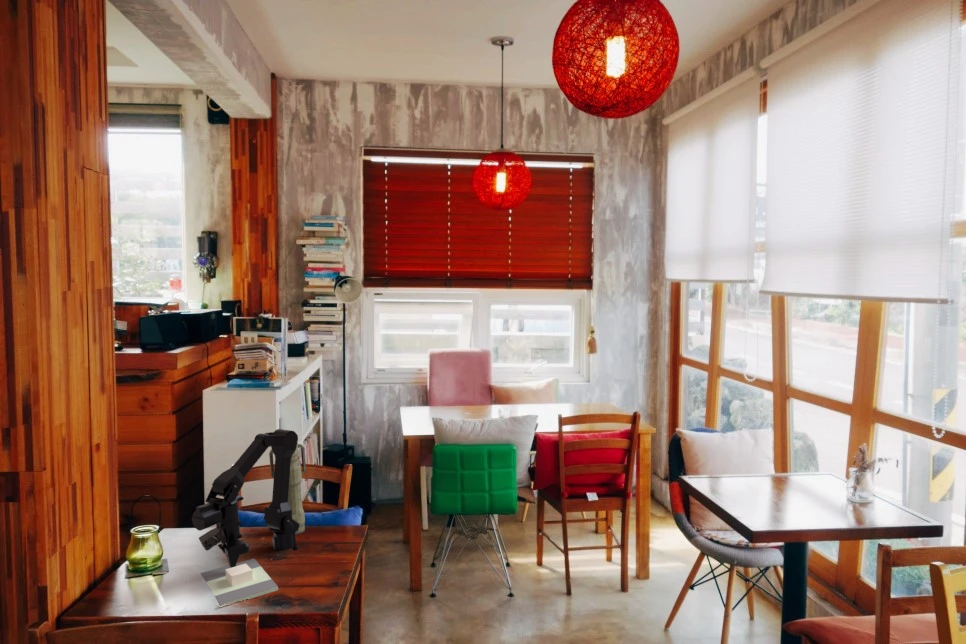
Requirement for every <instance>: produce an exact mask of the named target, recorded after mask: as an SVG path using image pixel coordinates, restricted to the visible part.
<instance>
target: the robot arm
mask: <svg viewBox="0 0 966 644" xmlns="http://www.w3.org/2000/svg"><path fill="white" fill-rule="evenodd" d="M298 435H299V434H297V432H296V431H294V430H289V429H282V428H278V429H275V430H274V431H273V432H272V431H271V432H265V433H258V434H256V435H255V437H254V440H253V441H252V442H251V443H250V444H249V446H248V447H247V448H246V449H245V451H243V453H242V454H241V455H240V457H239V458H238V459H237V460H236V461H235V463H234V464H233V465H232V466H231V467H230V468H228V469H227V470H225V471H222V473H221V474H219V475H218V476H217V477H216V478H214V480H213V482H212V483H211V486H212V487H210V490H209V493H208V495H207V497H206V499H205V504H202V505H198V506H196V507H195V511H194V512H193V514H192V517H191V522H192V524H193V527H194V529H196V530H197V531H203V530H205V529H207V528H211V527H213V526H215V528H212V529H211V530H209V531H207V532H206V533H204V534H202V535H201V536H199V537H198V540H199V541H200V544H201V546H202V547H203V548H204V550H205V551H209V550H211V549H212V548H214V547H215V546H218V548H219V549H220V550H221V552H222V553H223V554H225V557H226V558H227V559H226V560H227V562H228V564H229V565H230V568H232V567H235V566H236V563H238V561H239V558H240V556H241V555H244V554H248V553H249V552H250V550H251V549H250V544H249V543H248V542H247V541H246V540H244V539H242V538H243V535H242V532H241V531H240V530H241V528H240V526H241V525H242V521H241V519H240V517H239V504H238V503H239V502H241V501H242V500H244V497H243V496H241V495H240V494H239V493H240V491H241V489H242V488H243V486H244V484H245V478H246V476H247V474H249V472H250V471H251V469H252V468H253V467H254V466H255V465H256V464H257V462H258V461H259V460H260V458H261V457H262V456H263V454H264V453H265V452H266V450H268V448H271V449H272V450H273V456H274V457H275V458H274V459H275V460H274V478H273V481H272V482H273V483H272V485H273V486H272V496H271V497H272V499H271V502H270V504H269V505H268V506H264V515H263V520H264V523H265V526H266V527H267V528H268V529H269V531H270V532H273V536H272V537H271V539H272V549H273V550H274V551H283V550H284V551H285V550H290V549H291V550H293V551H296V550H298V549H299V547H298V546H297V539H296V535H295V532H296V531H298V530H299V523H297V522H296V521H295V520H293V519H292V510H291V508H290V505H289V503H288V491H289V478H290V464H291V457H292V455H293V453H294V452H295V450H296V447H297V442H299V441H298V440H299V436H298ZM217 496H218V497H217ZM220 497H223V498H220ZM229 565H228V566H229Z"/></svg>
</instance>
